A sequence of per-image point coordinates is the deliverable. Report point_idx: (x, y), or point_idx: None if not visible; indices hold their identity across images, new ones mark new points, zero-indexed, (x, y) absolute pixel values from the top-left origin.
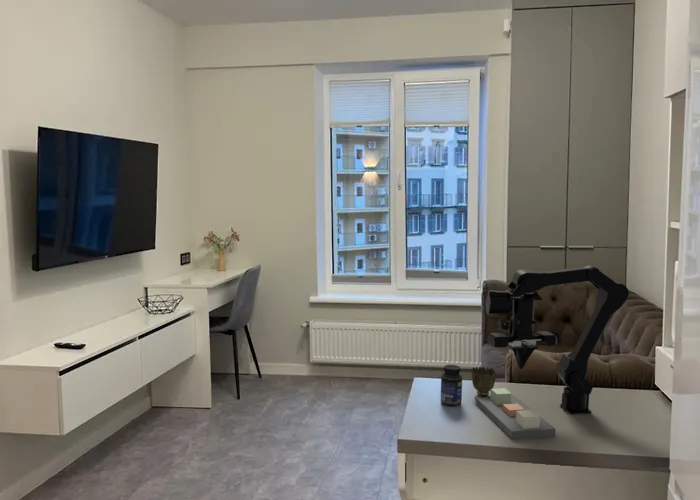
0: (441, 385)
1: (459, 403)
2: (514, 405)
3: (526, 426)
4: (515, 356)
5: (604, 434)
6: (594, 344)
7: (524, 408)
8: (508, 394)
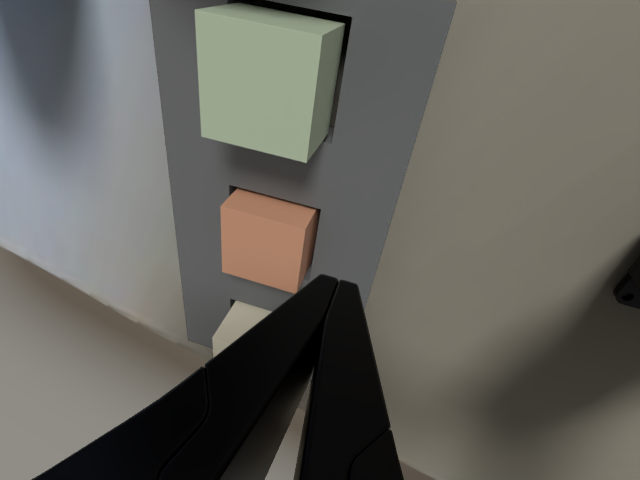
0: None
1: None
2: (273, 242)
3: None
4: (198, 385)
5: (522, 430)
6: None
7: (354, 223)
8: (287, 154)
